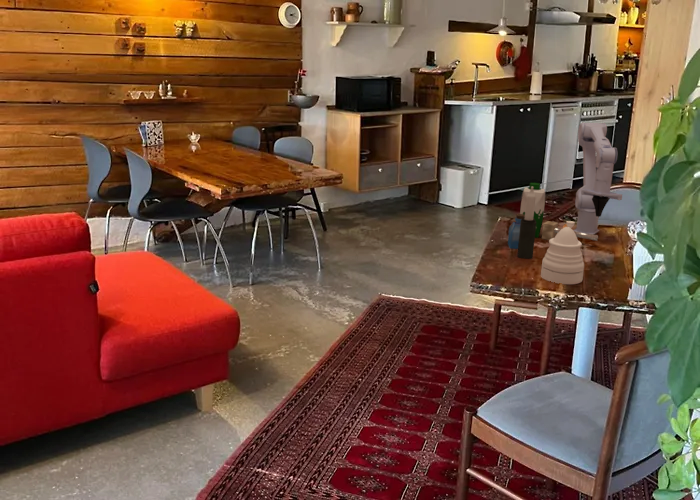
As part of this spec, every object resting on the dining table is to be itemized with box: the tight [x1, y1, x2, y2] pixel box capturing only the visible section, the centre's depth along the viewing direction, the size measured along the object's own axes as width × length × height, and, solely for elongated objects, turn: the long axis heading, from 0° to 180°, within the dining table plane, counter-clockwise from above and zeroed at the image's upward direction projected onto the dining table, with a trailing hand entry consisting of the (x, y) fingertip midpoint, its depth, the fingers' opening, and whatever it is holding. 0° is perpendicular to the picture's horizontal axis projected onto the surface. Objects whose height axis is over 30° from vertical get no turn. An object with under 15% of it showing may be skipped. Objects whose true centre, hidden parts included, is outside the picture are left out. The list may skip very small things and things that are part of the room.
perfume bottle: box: [507, 213, 525, 250], centre depth 246 cm, size 6×6×12 cm
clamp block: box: [541, 220, 559, 241], centre depth 259 cm, size 4×5×6 cm
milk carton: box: [519, 182, 546, 239], centre depth 261 cm, size 9×9×20 cm
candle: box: [516, 186, 536, 260], centre depth 232 cm, size 5×5×25 cm
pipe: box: [554, 227, 599, 242], centre depth 254 cm, size 20×2×2 cm, turn 54°
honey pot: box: [540, 220, 585, 285], centre depth 213 cm, size 13×13×18 cm
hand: (598, 216), depth 253 cm, fingers closed
